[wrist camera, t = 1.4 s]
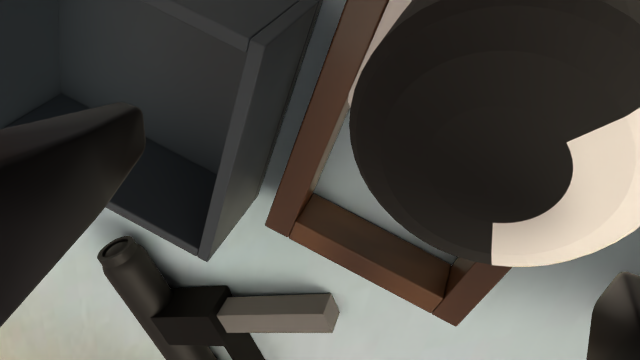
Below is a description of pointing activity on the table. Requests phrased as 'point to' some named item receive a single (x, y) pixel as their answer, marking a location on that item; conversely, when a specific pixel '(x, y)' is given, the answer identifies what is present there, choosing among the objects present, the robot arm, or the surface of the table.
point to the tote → (165, 95)
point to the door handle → (206, 309)
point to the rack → (347, 228)
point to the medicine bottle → (503, 125)
